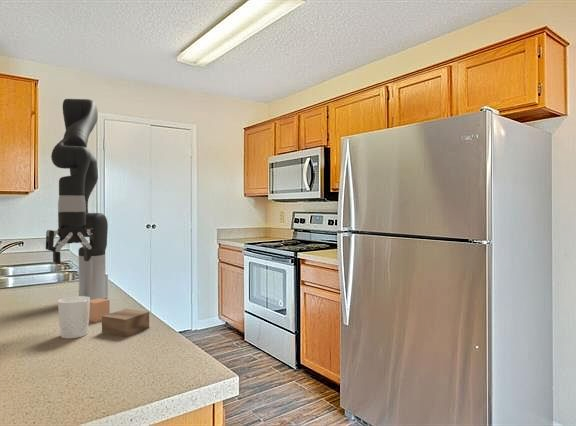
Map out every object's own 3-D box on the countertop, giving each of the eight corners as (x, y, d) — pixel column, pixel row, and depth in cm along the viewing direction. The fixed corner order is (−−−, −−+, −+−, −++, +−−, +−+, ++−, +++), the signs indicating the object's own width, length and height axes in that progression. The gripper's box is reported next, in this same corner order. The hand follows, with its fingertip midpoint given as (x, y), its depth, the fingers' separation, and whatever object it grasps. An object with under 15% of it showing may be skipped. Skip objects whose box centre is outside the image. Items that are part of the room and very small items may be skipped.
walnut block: (126, 324, 120) (126, 308, 120) (149, 328, 117) (149, 311, 117) (101, 333, 112) (101, 316, 112) (125, 337, 109) (125, 319, 108)
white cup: (96, 332, 113) (96, 297, 112) (73, 341, 105) (73, 303, 105) (75, 329, 115) (75, 295, 115) (51, 337, 108) (50, 301, 108)
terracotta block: (98, 316, 129) (98, 298, 129) (109, 318, 127) (109, 299, 126) (85, 320, 124) (84, 301, 124) (96, 322, 122) (95, 303, 122)
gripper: (89, 210, 130) (90, 259, 130) (41, 210, 119) (42, 264, 119) (100, 210, 125) (101, 261, 126) (52, 210, 114) (52, 266, 114)
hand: (72, 262), depth 122 cm, fingers open, 8 cm apart
